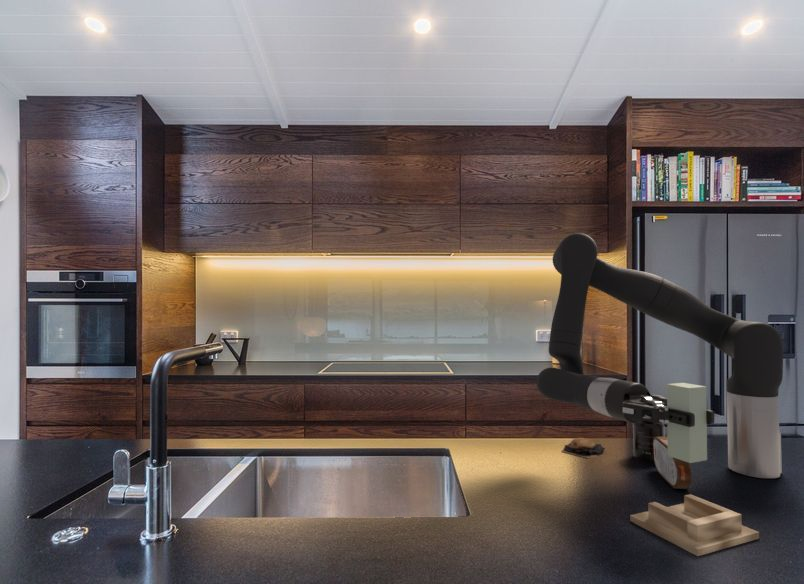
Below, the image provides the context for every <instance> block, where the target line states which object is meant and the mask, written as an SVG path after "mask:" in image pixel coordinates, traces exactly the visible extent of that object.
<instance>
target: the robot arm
mask: <svg viewBox="0 0 804 584" xmlns="http://www.w3.org/2000/svg"><path fill="white" fill-rule="evenodd" d="M598 254H599V251H598V246H597V243H596V241H595V240H594V239H593V238H592V237H591V236H590V235H588V234H586V233H583V232H576V233H571V234H569V235H567V236H565V238H564V239H562V241H560V243H559V244H558V246H557V247H556V249H555V251H554V253H553V255H552V265H553V268H554V269H555V270H556V271H557V272H558V273H559V274H560V275H561V277H560V288H559V293H558V298H557V302H556V305H555V309H554V313H553V317H552V320H551V321H552V322H551V327H550V334H549V343H548V354H549V355H550V356H551V357H552V358H553V359H554V360H557V362H558V363H559V368H558V367H553V366H552V367H545V368H544V369H543V370H541V371H540V372H539V373H538V375H537V377H536V388H537V390H538V391H539V393H540V395H542V396H543V397H545V398H546V399H549V400H550V399H551V400H555V401H558V402H559V401H560V402H562V403H568V404H572V405H573V404H574V405H576V406H578V407H582V408H583V409H587V410H590V411H593V412H597V413H599V414H600V415H603V416H607V417H609V418H613V419H617V420H620V421H623V422H627V423H631V424H633V423H640V422H642V421H648V422H654V423H659V422H663V423H664V424H667V423H671V422H672V423H676V424H679V425H683V426H687V427H693V426H694V425H695V416H694V414H693V413H690V412H686V411H681V410H677V409H671V408H670V407H668V406H667V397H664V396H663V395H661V394H660V395H659V394H651V393H650V391H649V389H648V388H647V387H646V386H645V385H644V384H642V383H639V382H636V381H629V380H623V379H618V378H614V377H613V378H612V377H603V376H602V377H601V376H595V375H591V374H590V375H589V374H584V367H583V361H582V355H581V350H582V348H581V347H582V341H583V334H584V333H583V331H584V321H585V311H586V305H587V304H586V303H587V298H588V297H587V296H588V293H589V292H588V291H589V287H591V288H594V289H595V290H598V291H600V292H602V293H604V294H607V295H609V296H610V297H612V298H614V299H616V300H618V301H619V302H621V303H623V304H625V305H627V306H629V307H631V308H633V309H635V310H637V311H639V312H641V313H642V314H645V315H646V316H649V317H651V318H653V319H655V320H657V321H660V322H662V323H664V324H666V325H668V326H671V327H673V328H676V329H679V330H681V331H685V332H686V333H689V334H692V335H693V336H695V337H698V338H700V339H701V340H703V341H704V342H707V343H708V344H710V345H711V346H713V347H715V348H716V349H718V350H719V351H721V352H722V353H723V354H725V355H727V356H728V357H730V358H731V359H733V371H732V374H731V375H730V377H728V378H727V380H726V412H727V413H726V417H727V419H726V420H727V422H726V423H727V462H728V463H727V465H728V466H727V467H728V469H729V470H731V471H733V472H735V473H737V474H741V475H744V476H748V477H753V478H759V479H777V478H780V477H781V474H782V472H783V471H782V470H783V468H782V462H783V461H782V433H781V432H782V431H781V429H780V411H779V410H780V409H779V407H780V406H779V389H780V386H781V384H782V383H783V382H782V381H783V375H784V370H783V369H784V344H783V343H784V342H783V340H782V337H781V336H782V335H780V333H779V330H777V329H776V328H775V327H774V326H772V325H770V324H769V323H766V322H762V321H761V322H760V321H750V320H749V321H748V320H743V319H739V318H736V317H734V316H730V315H729V314H725V313H723V312H720V311H718V310H716V309H714V308H712V307H710V306H708V304H705V303H704V302H702V300H700V299H698V297H696V296H695V295H694V294H693V293H691V292H690V291H688V290H687V289H685V288H683V287H682V286H680V285H678V284H677V283H674V282H672V281H670V280H669V279H666V278H664V277H662V276H659V275H657V274H654V273H651V272H646V271H641V270H637V269H631V268H626V267H621V266H618V265H614V264H612V263H609V262H607V261H606V260H603V259H602V258H599V257H598ZM706 423H707V425H713V424H715V412H714V411H713V410H711V409H707V410H706Z"/></svg>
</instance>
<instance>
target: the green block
mask: <svg viewBox="0 0 804 584" xmlns="http://www.w3.org/2000/svg"><path fill="white" fill-rule="evenodd" d="M666 398H667V406H668V407H670V408H671V409H677V410H681V411H686V412H690V413H693V414H694V416H695V425H694V426H693V427H687V426H683V425H679V424H676V423H672V422H671V423H666V424H667V426H666V427H667V429H666V430H667V435H666V436H667V438H668V456H671V457H674V458H677V459H679V460H682V461H685V462H688V463H689V464H692V463H700V462H705V461H708V426H707V425H708V424H707V423H706V410H708V409H707V385H706V386H705V385H700V384H693V383H689V382H688V383H687V382H677V383H675V382H674V383H667V384H666Z"/></svg>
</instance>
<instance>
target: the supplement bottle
mask: <svg viewBox="0 0 804 584" xmlns="http://www.w3.org/2000/svg"><path fill="white" fill-rule="evenodd" d="M665 433H666V431H665V423H664V422H662V421H661V422H659V423H654V422H648V421H642V422H640V423H632V446H633V447H632V448H633V450H632V452H633V456H634V458H635V459H636V460H639V461H641V462H643V463H644V462H645V463H648V464H649V463H650V464H655V462H654V450H653V439H654V438H655V437H665Z"/></svg>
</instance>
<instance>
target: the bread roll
mask: <svg viewBox="0 0 804 584" xmlns="http://www.w3.org/2000/svg"><path fill="white" fill-rule="evenodd" d="M605 449H606V448H605V447H603V446H602V445H601V443H596V442H593V441H592V440H590V439H588V438H585V437H576V438H574V439H572V440H571V441H570V443H567V444H565V445H564V447H563V449H562V450H561V453H563V454H567V455H571V456H574V457H575V456H576V457H579V458H583V459H586V460H589V459H592V458H595V457H597V456H599V455H601V454H603V453H604V452H605Z"/></svg>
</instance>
